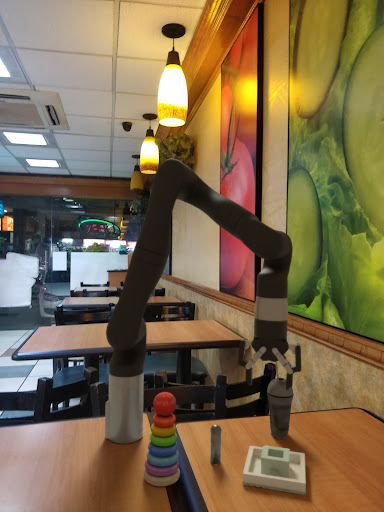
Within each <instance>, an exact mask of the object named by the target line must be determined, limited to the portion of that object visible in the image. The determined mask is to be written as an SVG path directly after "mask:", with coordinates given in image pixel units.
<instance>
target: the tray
mask: <svg viewBox="0 0 384 512" xmlns="http://www.w3.org/2000/svg"><path fill="white" fill-rule="evenodd" d="M262 451H263V446H256V445H249V447H248V451H247V456H246V459H245V464H244V468H243V471H242V485H243V484H244V485H243V486H248V485H249V487H254V486H256V487H255V488H260V487H262V488H261V489H266V488H267V490H272V491H278V492H284V493H285V492H286V493H291V494H295V495H296V494H297V495H303V496H306V489H307V488H306V485H307V483H306V481H307V480H306V456H305V455H306V453H305V452H297V451H293V450H291V451H290V464H289V478H284V477H278V476H271V475H265V474H261V456H262Z"/></svg>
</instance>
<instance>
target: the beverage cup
mask: <svg viewBox="0 0 384 512" xmlns="http://www.w3.org/2000/svg"><path fill="white" fill-rule="evenodd" d="M274 363H275V364H274V365H275V371H276V378H274V379H272V380H271V381H270V382H269V384H268V386H267V391H266V395H267V400H268V410H269V411H268V412H269V413H268V414H269V425H270V426H269V427H270V435H271V436H272V437H273V438H276V439H278V440H279V439H280V440H283V439H284V440H285V439H286V438H288V437H289V430H290V421H291V411H292V403H293V400H294V395H295V394H294V389H293V387H292V388H289V390H286V378H284V377H280V376H279V367H278V361H276V362H274Z"/></svg>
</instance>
